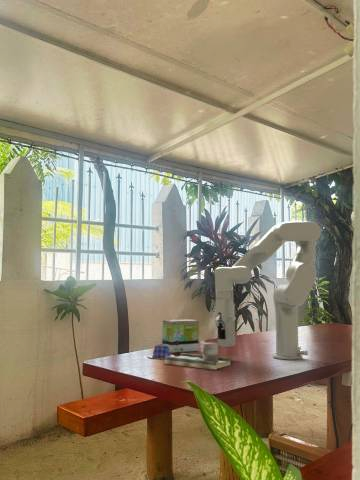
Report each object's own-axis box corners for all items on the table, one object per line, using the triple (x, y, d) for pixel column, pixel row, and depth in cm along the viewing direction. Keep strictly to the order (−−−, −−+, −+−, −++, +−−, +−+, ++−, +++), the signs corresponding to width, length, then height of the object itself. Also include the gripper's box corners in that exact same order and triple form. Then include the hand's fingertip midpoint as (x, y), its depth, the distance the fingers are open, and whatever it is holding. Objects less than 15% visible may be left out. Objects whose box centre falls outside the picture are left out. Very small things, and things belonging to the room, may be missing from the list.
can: (216, 344, 192) (215, 316, 193) (233, 344, 193) (232, 316, 194) (219, 347, 185) (218, 318, 186) (237, 346, 185) (236, 317, 187)
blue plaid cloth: (177, 356, 199) (177, 344, 200) (171, 360, 188) (171, 347, 188) (151, 355, 202) (151, 343, 202) (144, 359, 190) (144, 347, 191)
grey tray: (230, 364, 176) (230, 342, 176) (214, 369, 165) (214, 346, 166) (182, 359, 188) (182, 339, 189) (164, 363, 178) (164, 341, 179)
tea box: (172, 353, 206) (172, 321, 207) (161, 350, 214) (161, 319, 216) (199, 350, 214) (199, 319, 215) (187, 348, 222) (187, 318, 224)
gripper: (226, 295, 200) (228, 335, 198) (206, 297, 186) (208, 340, 184) (241, 294, 196) (243, 335, 194) (222, 296, 182) (224, 340, 180)
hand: (226, 337), depth 189 cm, fingers closed on can, 7 cm apart
